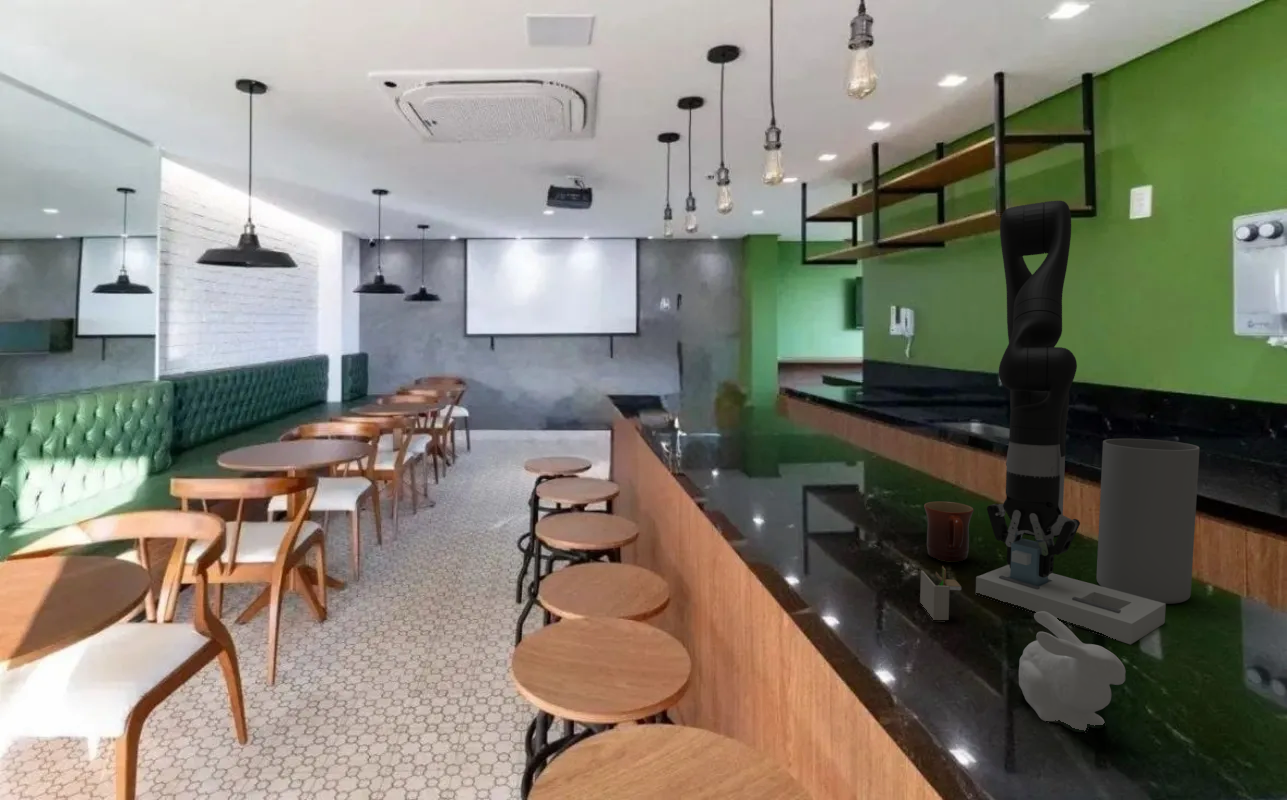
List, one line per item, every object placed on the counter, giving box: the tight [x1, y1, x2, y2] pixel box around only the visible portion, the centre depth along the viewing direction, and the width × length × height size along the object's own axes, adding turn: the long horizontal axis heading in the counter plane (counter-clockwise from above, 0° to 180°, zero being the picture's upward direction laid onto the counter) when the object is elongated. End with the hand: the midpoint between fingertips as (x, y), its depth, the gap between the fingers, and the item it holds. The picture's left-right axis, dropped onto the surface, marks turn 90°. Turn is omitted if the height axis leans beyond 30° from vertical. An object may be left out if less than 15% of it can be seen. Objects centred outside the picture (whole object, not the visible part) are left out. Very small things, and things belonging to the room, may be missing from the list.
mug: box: [923, 501, 975, 562], centre depth 123 cm, size 12×9×10 cm
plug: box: [1010, 538, 1048, 586], centre depth 105 cm, size 5×4×9 cm
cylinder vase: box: [1096, 438, 1200, 605], centre depth 106 cm, size 12×12×25 cm
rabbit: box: [1018, 611, 1126, 731], centre depth 73 cm, size 12×9×12 cm
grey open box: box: [919, 565, 962, 621], centre depth 100 cm, size 4×7×8 cm, turn 172°
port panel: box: [975, 564, 1167, 645], centre depth 101 cm, size 12×22×3 cm, turn 33°
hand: (1029, 571), depth 105 cm, fingers closed on plug, 4 cm apart
